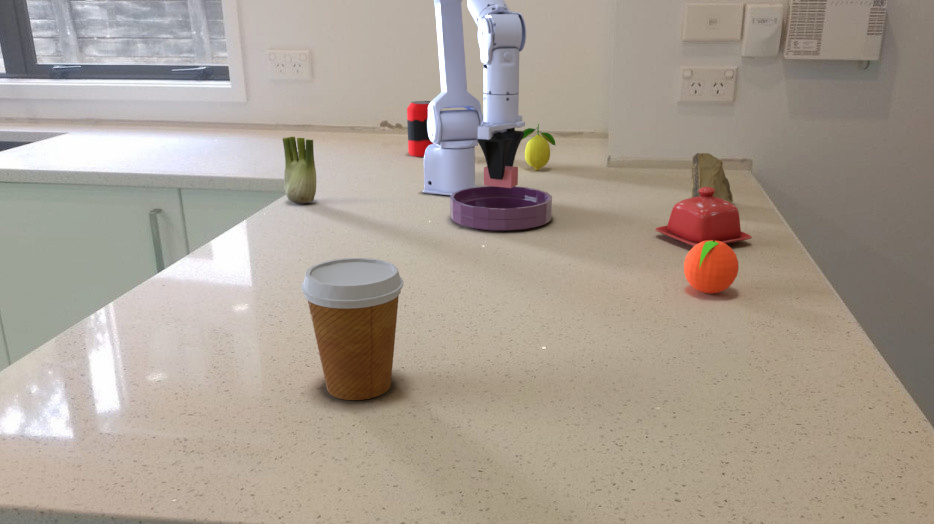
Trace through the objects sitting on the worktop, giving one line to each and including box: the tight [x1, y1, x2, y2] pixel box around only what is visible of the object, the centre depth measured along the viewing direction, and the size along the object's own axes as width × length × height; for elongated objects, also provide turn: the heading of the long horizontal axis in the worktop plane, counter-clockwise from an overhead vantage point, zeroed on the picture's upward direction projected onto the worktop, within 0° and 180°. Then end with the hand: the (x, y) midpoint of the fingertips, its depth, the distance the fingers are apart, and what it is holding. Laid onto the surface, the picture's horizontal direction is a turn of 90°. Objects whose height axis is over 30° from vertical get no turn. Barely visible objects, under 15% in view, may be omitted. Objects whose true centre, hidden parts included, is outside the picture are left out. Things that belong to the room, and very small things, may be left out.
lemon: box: [522, 123, 556, 171], centre depth 181 cm, size 7×6×10 cm
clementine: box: [683, 239, 740, 295], centre depth 108 cm, size 8×7×7 cm
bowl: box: [449, 185, 553, 232], centre depth 143 cm, size 17×17×4 cm
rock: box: [690, 152, 734, 204], centre depth 152 cm, size 11×9×10 cm
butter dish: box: [654, 187, 753, 248], centre depth 131 cm, size 12×12×8 cm
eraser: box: [483, 166, 519, 188], centre depth 141 cm, size 5×3×3 cm, turn 68°
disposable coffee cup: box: [300, 257, 404, 401], centre depth 81 cm, size 10×10×12 cm
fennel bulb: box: [282, 136, 317, 205], centre depth 151 cm, size 6×5×12 cm
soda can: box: [406, 100, 433, 158], centre depth 197 cm, size 8×8×12 cm
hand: (500, 176), depth 141 cm, fingers closed on eraser, 3 cm apart
